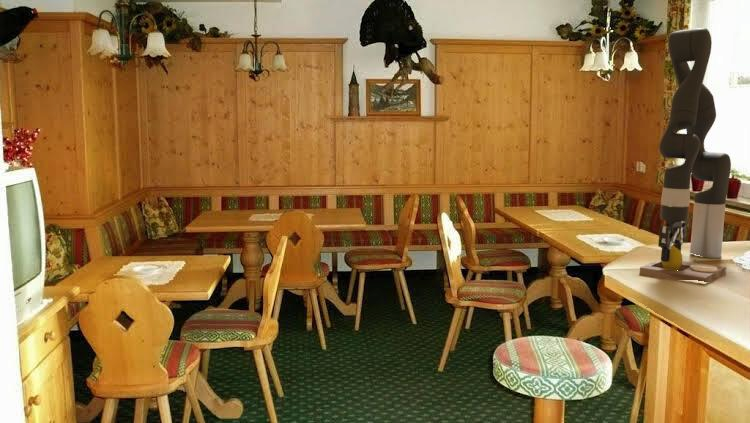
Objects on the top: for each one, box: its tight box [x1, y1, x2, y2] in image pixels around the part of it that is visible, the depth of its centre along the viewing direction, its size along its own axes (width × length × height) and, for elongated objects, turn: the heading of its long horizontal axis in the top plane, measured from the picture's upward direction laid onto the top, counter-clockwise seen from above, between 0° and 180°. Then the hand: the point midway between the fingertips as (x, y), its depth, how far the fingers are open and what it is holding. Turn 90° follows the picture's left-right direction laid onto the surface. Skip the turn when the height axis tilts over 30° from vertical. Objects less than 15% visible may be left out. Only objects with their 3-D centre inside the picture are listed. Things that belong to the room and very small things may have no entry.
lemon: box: [662, 245, 683, 270], centre depth 215 cm, size 6×6×8 cm
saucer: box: [690, 263, 717, 272], centre depth 211 cm, size 7×7×1 cm
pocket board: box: [639, 258, 727, 283], centre depth 214 cm, size 18×18×2 cm
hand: (670, 259), depth 215 cm, fingers open, 8 cm apart
